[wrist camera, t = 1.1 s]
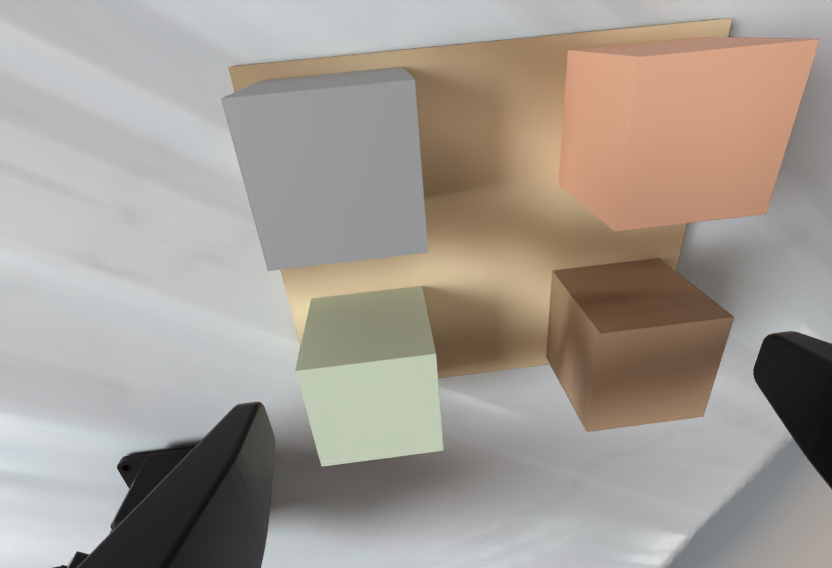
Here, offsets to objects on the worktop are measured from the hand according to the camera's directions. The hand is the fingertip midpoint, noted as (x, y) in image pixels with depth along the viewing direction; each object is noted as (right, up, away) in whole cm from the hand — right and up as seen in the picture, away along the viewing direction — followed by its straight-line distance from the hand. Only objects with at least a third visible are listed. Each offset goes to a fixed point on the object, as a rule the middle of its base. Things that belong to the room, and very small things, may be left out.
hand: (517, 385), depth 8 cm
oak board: (+1, +4, +12) cm, 13 cm away
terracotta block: (+6, +8, +10) cm, 14 cm away
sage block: (-4, -1, +14) cm, 14 cm away
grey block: (-5, +7, +9) cm, 13 cm away
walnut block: (+7, +1, +14) cm, 16 cm away
